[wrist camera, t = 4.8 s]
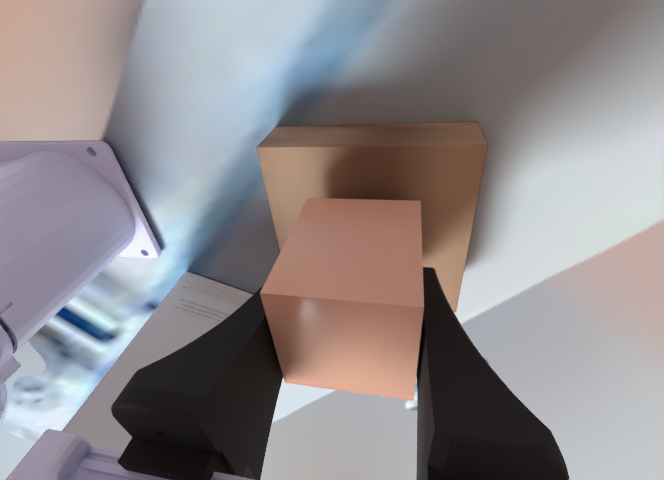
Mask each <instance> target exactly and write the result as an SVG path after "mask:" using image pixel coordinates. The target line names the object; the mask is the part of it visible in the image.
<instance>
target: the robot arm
mask: <svg viewBox="0 0 664 480" xmlns="http://www.w3.org/2000/svg"><path fill="white" fill-rule="evenodd" d="M93 149H94V150H95V151H94V150H93ZM161 253H162V252H161V249H160V247H159V245H158V243H157V241H156V239H155V237H154V235H153V233H152V231H151V229H150V227H149V225H148V223H147V221H146V219H145V217H144V214H143V212H142V210H141V208H140V206H139V204H138V202H137V200H136V198H135V196H134V194H133V192H132V190H131V188H130V186H129V184H128V182H127V180H126V178H125V176H124V173H123V171H122V169H121V167H120V165H119V163H118V161H117V159H116V157H115V155H114V153H113V151H112V149H111V147H110V146H109V145H108V144H107V143H105V142H103V141H12V142H10V141H7V142H0V418H1V416H2V414H3V412H4V409H5V406H6V402H7V390H6V386H5V384H4V382H5V381H6V380H7V379H8V378H9V377H10V376H11V375H12V374H13V373H14V372H15V371H16V370H17V369H18V368H19V367H20V366H21V364H20V363H19V362H18V361H17V359H16V358H15V357H14V355H13V353H15V352H16V351H17V350H18V349H19V348H20V347H21V346H22V345H23V344H24V343H25V342H26V341H28V340H29V339H30V338H31V337H32V336H33V335H34V334H35V333H36V332H37V331H38V330H39V329H40V328H41V327H43V326H44V325H45V324H46V323H47V322H48V321H49V320H50V319H51V318H52V317H53V316H54V315H55V314H56V313H57V312H59V311H60V310H61V309H62V308H63V307H64V306H65V305H66V304H67V303H68V302H69V301H70V300H71V299H72V298H73V297H75V296H76V295H77V294H78V293H79V292H80V291H81V290H82V289H83V288H84V287H85V286H86V285H87V284H88V283H89V282H91V281H92V280H93V279H94V278H95V277H96V276H97V275H98V274H99V273H100V272H101V271H102V270H103V269H104V268H105V267H107V266H108V265H109V264H110V263H111V262H112V261H113V260H114V259H115V258H116V257H117V256H123V257H138V258H152V259H156V258H158V257H159V256H160V255H161ZM263 286H264V285H263ZM263 286H262V287H261V288H260V289H259V290H258V291H257V292H256V293H255V294H254V295H253V296H251V297H250V298H249V299H248V300H247V301H246V302H245V303H244V304H243V305H242V306H240V307H239V308H238V309H237V310H236V311H235V312H233V313H232V314H231V315H230V316H228V317H227V318H226V319H225V320H223V321H222V322H221V323H219V324H218V325H216V326H215V327H214V328H212V329H211V330H209V331H208V332H206V333H205V334H203V335H202V336H200V337H199V338H197V339H196V340H194V341H192V342H191V343H189V344H187V345H186V346H184V347H182V348H180V349H179V350H177V351H175V352H173V353H171V354H169V355H168V356H166V357H164V358H162V359H160V360H158V361H156V362H153V363H151V364H149V365H147V366H145V367H143V368H141V369H139V370H137V371H136V372H135V374H134V375H133V376H132V378H131V379H130V380H129V382H128V383H127V385H126V386H125V387H124V389H123V390H122V392H121V393H120V394H119V396H118V397H117V399H116V400H115V402H114V403H113V404H112V407H111V412H112V415H113V417H114V418H115V419H116V421H117V422H118V423H119V424H120V425H121V426H122V427H123V428H124V429H125V430H126V431H127V432H128V433H129V434H130V435H131V436H132V439H131V440H130V442H129V443H128V445H127V447H126V448H125V450H124V452H123V453H121V452H116V451H111V450H106V449H101V448H96V447H91V445H90V444H89V442H88V441H86V440H85V439H84V438H82V437H80V436H78V435H75V434H72V433H67V432H62V431H57V430H51V429H48V430H46V431H45V432H44V433H43V435H42V436H41V437H40V438H39V439H38V441H37V442H36V443H35V444H34V446H33V447H32V448H31V450H30V451H29V452H28V453H27V454H26V456H25V457H24V458H23V459H22V460H21V462H20V463H19V464H18V465H17V467H16V468H15V469H14V470H13V471H12V473H11V474H10V475H9V476H8V478H7V479H6V480H260V478H261V472H262V467H263V462H264V456H265V452H266V447H267V442H268V436H269V433H270V428H271V423H272V419H273V415H274V410H275V406H276V402H277V398H278V394H279V390H280V386H281V382H282V378H283V374H282V370H281V367H280V363H279V360H278V356H277V353H276V349H275V345H274V342H273V338H272V335H271V331H270V328H269V324H268V321H267V317H266V313H265V310H264V306H263V303H262V299H261V296H260V292H261V290H262V288H263ZM423 289H424V312H423V321H422V329H421V338H420V347H419V356H418V364H417V389H418V420H417V421H418V422H417V425H418V426H417V480H569V475H568V472H567V468H566V464H565V461H564V459H563V456H562V454H561V452H560V449H559V447H558V445H557V443H556V441H555V439H554V437H553V435H552V433H551V431H550V430H549V429H548V428H547V427H546V426H545V425H544V424H543V423H542V422H541V421H540V420H539V419H538V418H537V417H536V416H535V415H534V414H533V413H532V412H531V411H530V410H529V409H528V408H527V407H526V406H525V405H524V404H523V403H522V402H521V401H520V400H519V399H518V398H517V397H516V396H515V395H514V394H513V393H512V392H511V391H510V390H509V388H508V387H507V386H506V385H505V384H504V383H503V381H502V380H501V379H500V378H499V377H498V376H497V374H496V373H495V372H494V371H493V370H492V368H491V367H490V366H489V365H488V364H487V362H486V361H485V360H484V358H483V357H482V356H481V354H480V353H479V352H478V350H477V349H476V347H475V346H474V345H473V343H472V342H471V340H470V339H469V337H468V336H467V334H466V333H465V331H464V329H463V328H462V326H461V324H460V323H459V321H458V319H457V317H456V316H455V314H454V312H453V310H452V308H451V306H450V304H449V302H448V300H447V298H446V296H445V294H444V292H443V290H442V287H441V285H440V282H439V280H438V277H437V274H436V270H435V269H434V268H431V267H423Z"/></svg>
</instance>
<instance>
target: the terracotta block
mask: <svg viewBox="0 0 664 480" xmlns="http://www.w3.org/2000/svg"><path fill="white" fill-rule="evenodd" d="M260 296H261V299H262V303H263V306H264V310H265V313H266V317H267V321H268V324H269V328H270V331H271V335H272V338H273V342H274V345H275V349H276V353H277V356H278V360H279V363H280V367H281V370H282V374H283V377H284V381H285V383H291V384H298V385H305V386H312V387H319V388H326V389H334V390H341V391H348V392H356V393H362V394H370V395H377V396H384V397H391V398H398V399H405V400H413V399H414V390H415V382H416V373H417V364H418V356H419V347H420V338H421V329H422V321H423V312H424V289H423V257H422V226H421V201H411V200H371V199H332V198H307V200H306V202H305V204H304V206H303V208H302V210H301V212H300V214H299V216H298V218H297V220H296V222H295V224H294V226H293V228H292V230H291V232H290V234H289V236H288V238H287V240H286V242H285V244H284V246H283V248H282V250H281V252H280V254H279V256H278V258H277V260H276V262H275V264H274V266H273V268H272V270H271V272H270V274H269V276H268V278H267V280H266V282H265V284H264V286H263V288H262V290H261V292H260Z"/></svg>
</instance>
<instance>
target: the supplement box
mask: <svg viewBox="0 0 664 480" xmlns="http://www.w3.org/2000/svg"><path fill="white" fill-rule="evenodd" d="M251 296H253V294H250V293H248V292H245V291H242V290H239V289H236V288H234V287H231V286H228V285H225V284H222V283H219V282H216V281H214V280H211V279H208V278H205V277H202V276H199V275H197V274H193V273H189V272H186V273H184V274H183V275H182V277H181V278H180V279H179V280H178V282H177V283H176V284H175V286H174V287H173V288H172V289H171V291H170V292H169V293H168V294H167V296H166V297H165V298H164V300H163V301H162V302H161V304H160V305H159V306H158V307H157V309H156V310H155V311H154V313H153V314H152V315H151V317H150V318H149V319H148V321H147V322H146V323H145V324H144V326H143V327H142V328H141V330H140V331H139V332H138V333H137V335H136V336H135V337H134V339H133V340H132V341H131V342H130V344H129V345H128V346H127V348H126V349H125V350H124V352H123V353H122V354H121V355H120V357H119V358H118V359H117V361H116V362H115V363H114V365H113V366H112V367H111V369H110V370H109V371H108V372H107V374H106V375H105V376H104V378H103V379H102V380H101V381H100V383H99V384H98V385H97V387H96V388H95V389H94V391H93V392H92V393H91V394H90V396H89V397H88V398H87V400H86V401H85V402H84V404H83V405H82V406H81V407H80V409H79V410H78V411H77V413H76V414H75V415H74V416H73V418H72V419H71V420H70V421H69V423H68V424H67V425H66V427H65V428H64V429H63V430H62V432H67V433H72V434H75V435H78V436H80V437H82V438H84V439H85V440H86V441H88V442H89V444H90V445H91V447H96V448H101V449H106V450H111V451H116V452H121V453H123V452H124V450H125V448H126V447H127V445H128V443H129V442H130V440H131V439H132V436H131V435H130V434H129V433H128V432H127V431H126V430H125V429H124V428H123V427H122V426H121V425H120V424H119V423H118V422H117V421H116V419H115V418H114V417H113V415H112V412H111V407H112V404H113V403H114V402H115V400H116V399H117V397H118V396H119V394H120V393H121V392H122V390H123V389H124V387H125V386H126V385H127V383H128V382H129V380H130V379H131V378H132V376H133V375H134V374H135V372H136V371H137V370H139V369H141V368H143V367H145V366H147V365H149V364H151V363H153V362H156V361H158V360H160V359H162V358H164V357H166V356H168V355H169V354H171V353H173V352H175V351H177V350H179V349H180V348H182V347H184V346H186V345H187V344H189V343H191V342H192V341H194V340H196V339H197V338H199V337H200V336H202V335H203V334H205V333H206V332H208V331H209V330H211V329H212V328H214V327H215V326H216V325H218V324H219V323H221V322H222V321H223V320H225V319H226V318H227V317H228V316H230V315H231V314H232V313H233V312H235V311H236V310H237V309H238V308H239V307H240V306H242V305H243V304H244V303H245V302H246V301H247V300H248V299H249V298H250V297H251Z"/></svg>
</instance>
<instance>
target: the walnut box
mask: <svg viewBox="0 0 664 480" xmlns="http://www.w3.org/2000/svg"><path fill="white" fill-rule="evenodd" d="M256 148H257V153H258V157H259V162H260V166H261V170H262V175H263V179H264V184H265V188H266V192H267V197H268V201H269V206H270V210H271V214H272V219H273V223H274V228H275V232H276V236H277V241H278V245H279V250H280V252H281V250H282V248H283V246H284V244H285V242H286V240H287V238H288V236H289V234H290V232H291V230H292V228H293V226H294V224H295V222H296V220H297V218H298V216H299V214H300V212H301V210H302V208H303V206H304V204H305V202H306V200H307V198H332V199H371V200H411V201H421V226H422V257H423V267H431V268H434V269H435V270H436V274H437V277H438V280H439V282H440V285H441V287H442V290H443V292H444V294H445V296H446V298H447V300H448V302H449V304H450V306H451V308H452V310H453V312H456V310H457V305H458V299H459V294H460V289H461V284H462V278H463V273H464V268H465V263H466V257H467V252H468V247H469V242H470V237H471V231H472V226H473V221H474V216H475V210H476V205H477V200H478V195H479V190H480V184H481V179H482V174H483V169H484V163H485V158H486V153H487V148H488V143H487V141H486V139H485V137H484V135H483V132H482V130H481V128H480V126H479V123H478V122H440V123H400V124H360V125H320V126H280V127H275V128H274V129H273V130H272V131H271V132H270V133H269V135H268V136H267V137H266V138H265V139H264V140H263V141H262V142H261V143H260V144H259V145H258V146H257V147H256Z"/></svg>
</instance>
